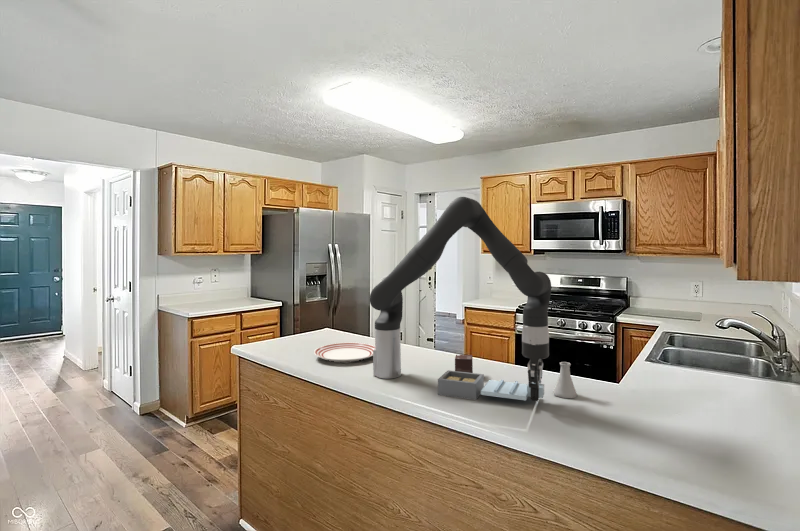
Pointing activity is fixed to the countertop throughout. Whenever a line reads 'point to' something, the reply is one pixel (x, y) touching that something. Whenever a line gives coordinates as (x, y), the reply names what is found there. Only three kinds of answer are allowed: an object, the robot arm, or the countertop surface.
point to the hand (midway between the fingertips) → (535, 397)
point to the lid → (509, 390)
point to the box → (464, 363)
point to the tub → (461, 385)
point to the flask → (565, 383)
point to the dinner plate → (345, 351)
